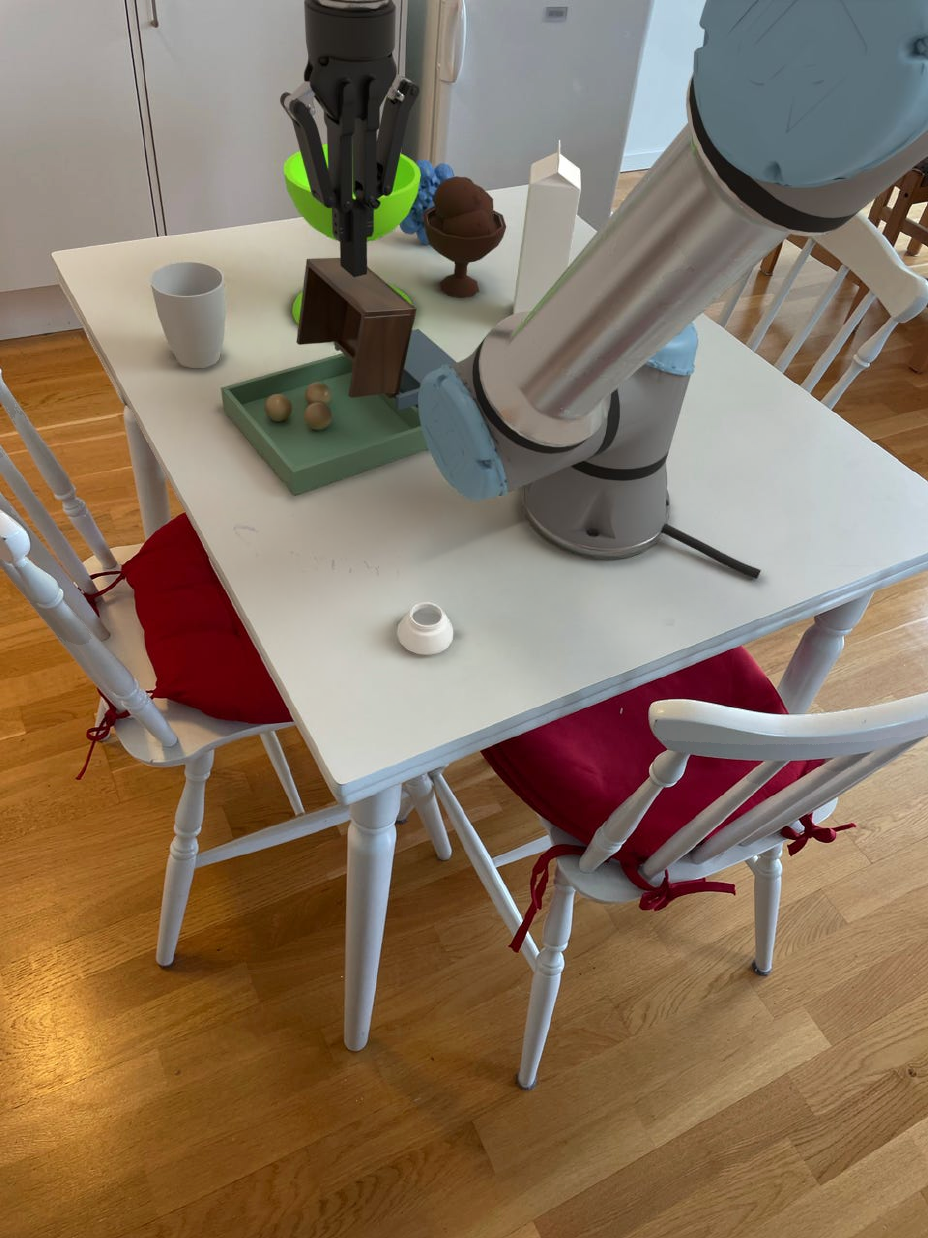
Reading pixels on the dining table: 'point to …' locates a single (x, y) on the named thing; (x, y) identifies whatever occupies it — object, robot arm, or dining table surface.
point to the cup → (191, 311)
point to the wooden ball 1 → (278, 407)
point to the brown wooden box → (357, 324)
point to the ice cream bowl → (462, 230)
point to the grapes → (425, 197)
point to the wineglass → (384, 216)
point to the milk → (547, 228)
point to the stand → (418, 367)
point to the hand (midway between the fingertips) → (353, 269)
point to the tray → (342, 449)
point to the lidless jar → (425, 629)
